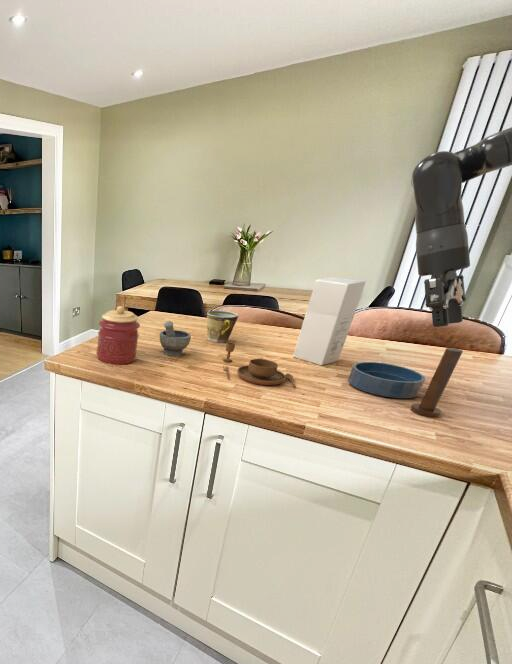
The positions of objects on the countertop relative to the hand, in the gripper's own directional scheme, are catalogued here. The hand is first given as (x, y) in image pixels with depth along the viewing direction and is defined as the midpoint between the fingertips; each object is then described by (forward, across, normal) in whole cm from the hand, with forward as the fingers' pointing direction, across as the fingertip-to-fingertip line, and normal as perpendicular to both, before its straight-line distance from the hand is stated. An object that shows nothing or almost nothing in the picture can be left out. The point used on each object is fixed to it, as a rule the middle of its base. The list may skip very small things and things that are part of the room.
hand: (448, 324), depth 87 cm
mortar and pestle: (0, -12, +62) cm, 63 cm away
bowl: (+16, +12, +16) cm, 26 cm away
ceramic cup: (-2, +12, +61) cm, 62 cm away
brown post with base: (+21, +4, +6) cm, 22 cm away
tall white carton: (+8, +21, +35) cm, 42 cm away
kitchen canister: (-2, -31, +69) cm, 76 cm away
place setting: (+8, -5, +39) cm, 40 cm away
